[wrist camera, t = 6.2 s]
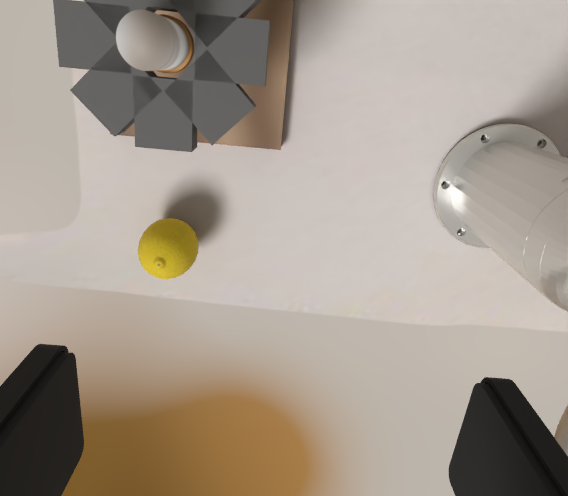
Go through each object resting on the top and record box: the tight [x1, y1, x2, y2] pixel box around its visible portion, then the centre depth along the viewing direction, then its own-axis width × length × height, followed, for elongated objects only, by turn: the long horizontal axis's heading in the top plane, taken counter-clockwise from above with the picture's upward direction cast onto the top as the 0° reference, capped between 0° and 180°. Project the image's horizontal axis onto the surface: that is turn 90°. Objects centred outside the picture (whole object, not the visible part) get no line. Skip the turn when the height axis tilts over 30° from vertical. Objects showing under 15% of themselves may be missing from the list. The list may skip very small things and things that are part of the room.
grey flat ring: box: [53, 0, 270, 152], centre depth 29 cm, size 13×13×2 cm
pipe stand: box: [110, 0, 294, 150], centre depth 33 cm, size 16×16×18 cm
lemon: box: [138, 218, 198, 279], centre depth 44 cm, size 6×6×8 cm
